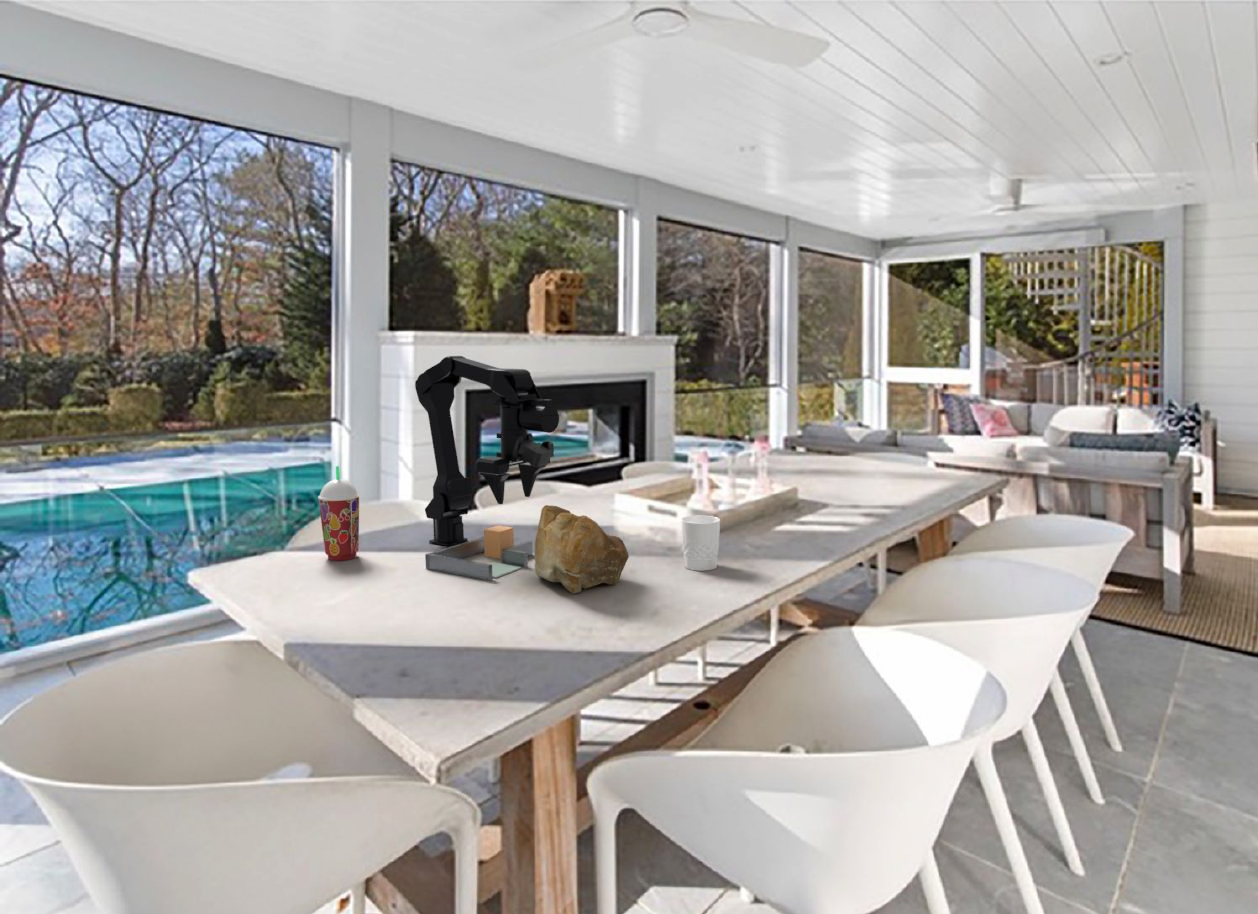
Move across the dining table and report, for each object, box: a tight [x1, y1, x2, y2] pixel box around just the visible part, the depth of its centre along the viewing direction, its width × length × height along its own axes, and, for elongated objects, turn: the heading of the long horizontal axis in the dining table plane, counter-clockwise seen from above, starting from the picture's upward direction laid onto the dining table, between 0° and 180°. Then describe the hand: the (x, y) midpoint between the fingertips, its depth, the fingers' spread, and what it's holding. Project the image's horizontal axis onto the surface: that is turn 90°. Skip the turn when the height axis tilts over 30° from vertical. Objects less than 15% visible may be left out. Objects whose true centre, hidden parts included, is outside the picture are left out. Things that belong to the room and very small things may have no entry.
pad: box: [486, 561, 523, 579], centre depth 162 cm, size 8×8×1 cm
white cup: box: [681, 514, 721, 572], centre depth 163 cm, size 8×8×10 cm
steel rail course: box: [424, 536, 533, 582], centre depth 167 cm, size 17×20×3 cm
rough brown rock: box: [534, 504, 630, 595], centre depth 152 cm, size 23×17×15 cm
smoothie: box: [317, 465, 361, 562], centre depth 171 cm, size 8×8×20 cm
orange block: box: [483, 524, 515, 560], centre depth 173 cm, size 4×4×6 cm
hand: (514, 500), depth 171 cm, fingers open, 9 cm apart
